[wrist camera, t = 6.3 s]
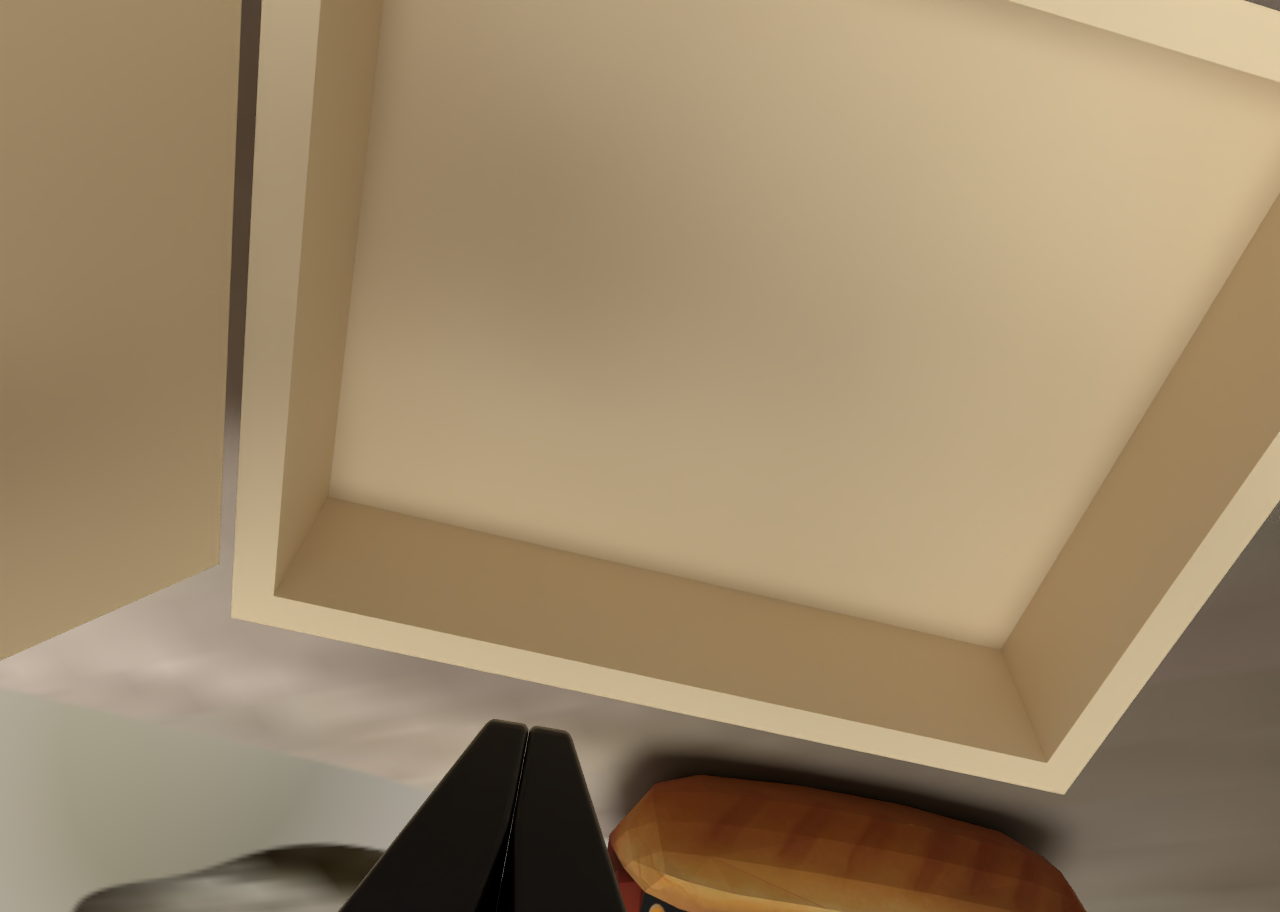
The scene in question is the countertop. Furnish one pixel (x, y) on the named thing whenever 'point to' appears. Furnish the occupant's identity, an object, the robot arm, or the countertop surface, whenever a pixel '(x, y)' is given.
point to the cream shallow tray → (767, 351)
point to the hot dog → (817, 855)
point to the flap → (112, 301)
